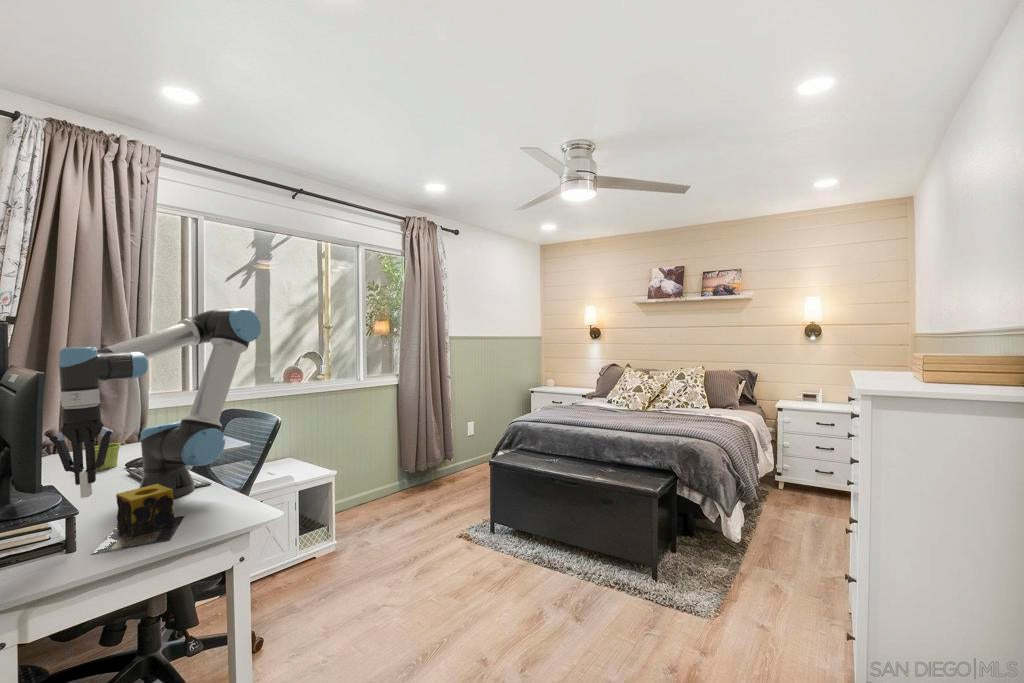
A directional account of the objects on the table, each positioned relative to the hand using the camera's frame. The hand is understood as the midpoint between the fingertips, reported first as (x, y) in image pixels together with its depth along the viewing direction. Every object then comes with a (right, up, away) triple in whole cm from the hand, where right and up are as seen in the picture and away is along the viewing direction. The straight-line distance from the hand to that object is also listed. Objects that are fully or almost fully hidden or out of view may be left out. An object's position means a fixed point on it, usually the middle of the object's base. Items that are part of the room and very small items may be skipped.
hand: (86, 495), depth 127 cm
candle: (+12, -11, +6) cm, 17 cm away
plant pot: (-51, -10, +68) cm, 86 cm away
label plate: (+13, -11, +2) cm, 17 cm away
